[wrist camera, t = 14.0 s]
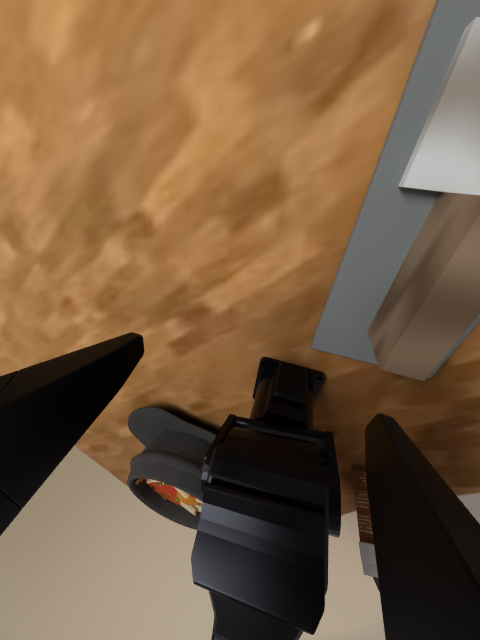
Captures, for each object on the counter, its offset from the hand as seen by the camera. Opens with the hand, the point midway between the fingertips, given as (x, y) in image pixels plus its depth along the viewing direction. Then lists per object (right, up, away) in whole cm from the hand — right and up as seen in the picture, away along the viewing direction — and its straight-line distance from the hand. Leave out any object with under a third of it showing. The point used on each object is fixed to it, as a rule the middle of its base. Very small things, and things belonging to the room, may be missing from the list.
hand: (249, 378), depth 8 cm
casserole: (-7, -19, +29) cm, 35 cm away
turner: (+12, +8, +5) cm, 15 cm away
